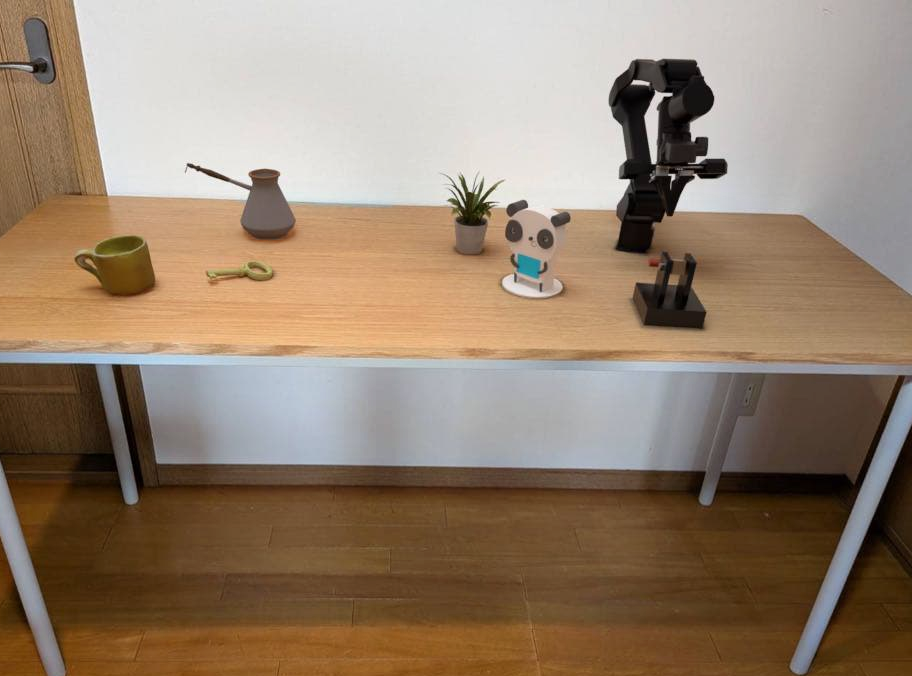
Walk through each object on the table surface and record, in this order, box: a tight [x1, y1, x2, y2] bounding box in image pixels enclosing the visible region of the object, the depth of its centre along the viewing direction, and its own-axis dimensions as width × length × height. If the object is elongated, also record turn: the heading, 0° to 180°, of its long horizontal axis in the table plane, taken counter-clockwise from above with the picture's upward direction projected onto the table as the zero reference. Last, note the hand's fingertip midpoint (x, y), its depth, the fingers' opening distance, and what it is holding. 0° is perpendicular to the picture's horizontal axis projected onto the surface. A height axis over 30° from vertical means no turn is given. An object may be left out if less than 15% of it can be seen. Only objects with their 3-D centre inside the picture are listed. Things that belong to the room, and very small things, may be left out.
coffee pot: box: [184, 162, 297, 241], centre depth 154 cm, size 21×12×15 cm, turn 99°
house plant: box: [439, 169, 506, 255], centre depth 151 cm, size 14×14×16 cm
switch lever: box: [647, 258, 687, 276], centre depth 131 cm, size 10×6×2 cm, turn 177°
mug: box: [73, 234, 156, 296], centre depth 132 cm, size 12×10×10 cm
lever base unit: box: [632, 251, 707, 330], centre depth 130 cm, size 11×10×11 cm
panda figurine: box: [501, 199, 572, 299], centre depth 137 cm, size 12×11×15 cm
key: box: [205, 260, 273, 281], centre depth 138 cm, size 7×12×2 cm, turn 137°
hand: (669, 216), depth 140 cm, fingers closed
